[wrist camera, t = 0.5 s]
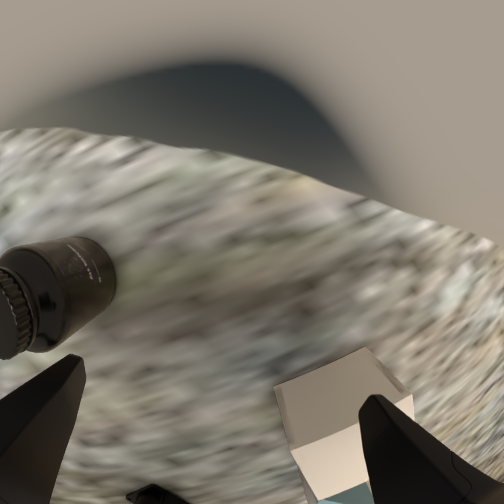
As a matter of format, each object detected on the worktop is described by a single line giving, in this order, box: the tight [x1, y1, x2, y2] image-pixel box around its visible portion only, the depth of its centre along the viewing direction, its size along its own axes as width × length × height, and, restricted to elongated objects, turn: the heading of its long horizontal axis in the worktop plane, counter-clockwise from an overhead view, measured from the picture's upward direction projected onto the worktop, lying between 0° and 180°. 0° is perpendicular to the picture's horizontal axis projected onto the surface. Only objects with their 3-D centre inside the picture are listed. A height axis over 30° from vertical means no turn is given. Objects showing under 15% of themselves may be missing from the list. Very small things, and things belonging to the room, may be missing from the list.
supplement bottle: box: [0, 237, 115, 360], centre depth 16 cm, size 7×7×12 cm
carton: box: [273, 347, 415, 501], centre depth 21 cm, size 9×8×8 cm
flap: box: [296, 462, 374, 504], centre depth 22 cm, size 9×2×8 cm, turn 52°
